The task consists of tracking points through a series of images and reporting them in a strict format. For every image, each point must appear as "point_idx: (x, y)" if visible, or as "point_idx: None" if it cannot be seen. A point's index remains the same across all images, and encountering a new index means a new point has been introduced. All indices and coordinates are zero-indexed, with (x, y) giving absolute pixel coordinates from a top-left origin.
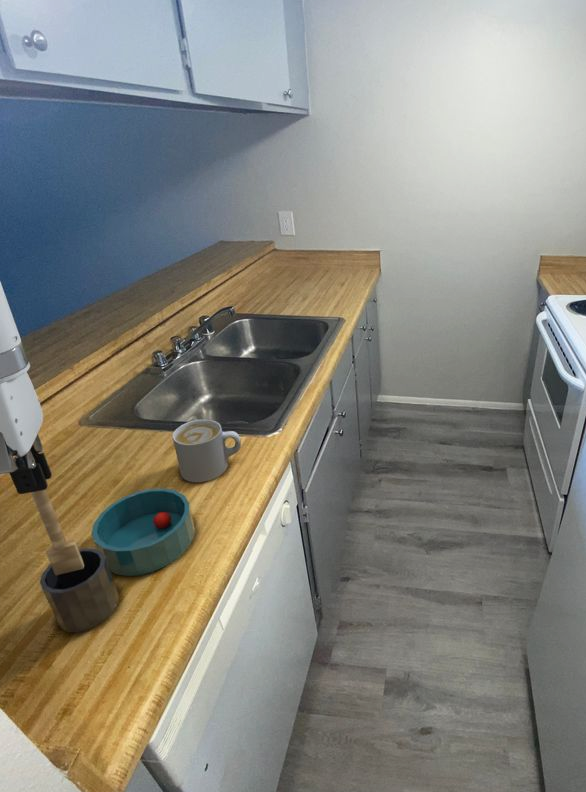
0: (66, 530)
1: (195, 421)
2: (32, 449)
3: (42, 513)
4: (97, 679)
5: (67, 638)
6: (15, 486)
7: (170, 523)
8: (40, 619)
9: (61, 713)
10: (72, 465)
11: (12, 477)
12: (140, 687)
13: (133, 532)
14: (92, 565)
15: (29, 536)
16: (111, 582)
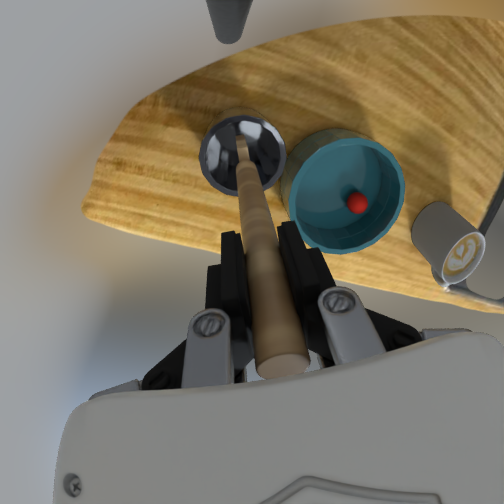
0: (385, 78)
1: (482, 252)
2: (321, 351)
3: (240, 207)
4: (147, 179)
5: (199, 128)
6: (221, 249)
7: None
8: (234, 86)
9: (117, 160)
10: (485, 79)
11: (222, 276)
12: (137, 220)
13: (354, 163)
14: (273, 156)
15: (384, 38)
16: None
